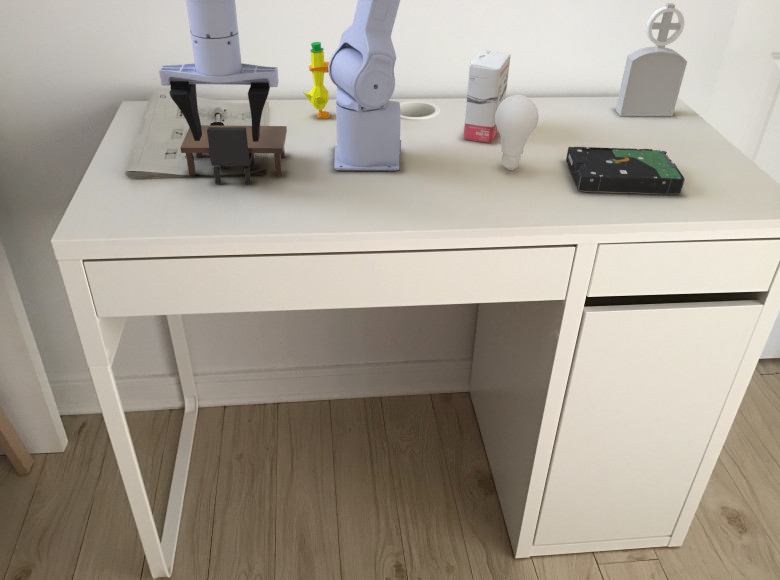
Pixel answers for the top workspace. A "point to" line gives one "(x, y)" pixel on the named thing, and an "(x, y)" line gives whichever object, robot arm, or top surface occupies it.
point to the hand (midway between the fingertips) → (227, 138)
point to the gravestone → (654, 71)
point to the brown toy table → (268, 141)
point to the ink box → (485, 94)
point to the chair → (229, 150)
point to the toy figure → (318, 80)
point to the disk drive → (623, 170)
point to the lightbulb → (515, 127)
